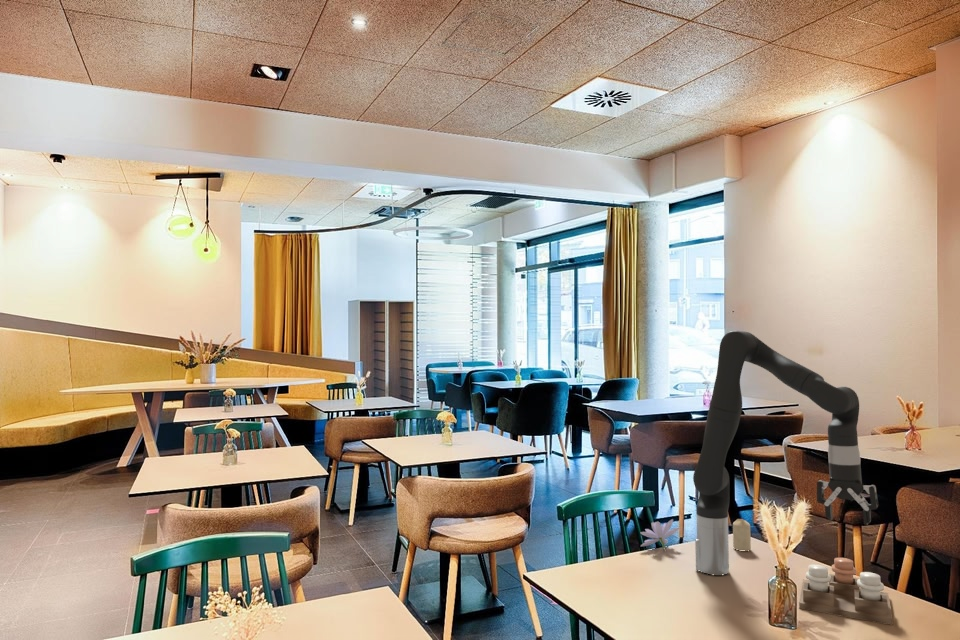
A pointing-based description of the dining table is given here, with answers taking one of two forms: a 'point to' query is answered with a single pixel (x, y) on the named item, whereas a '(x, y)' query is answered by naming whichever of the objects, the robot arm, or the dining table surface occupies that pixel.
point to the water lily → (659, 533)
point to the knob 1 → (818, 578)
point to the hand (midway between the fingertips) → (848, 521)
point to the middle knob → (843, 570)
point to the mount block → (846, 602)
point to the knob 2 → (870, 586)
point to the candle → (741, 535)
